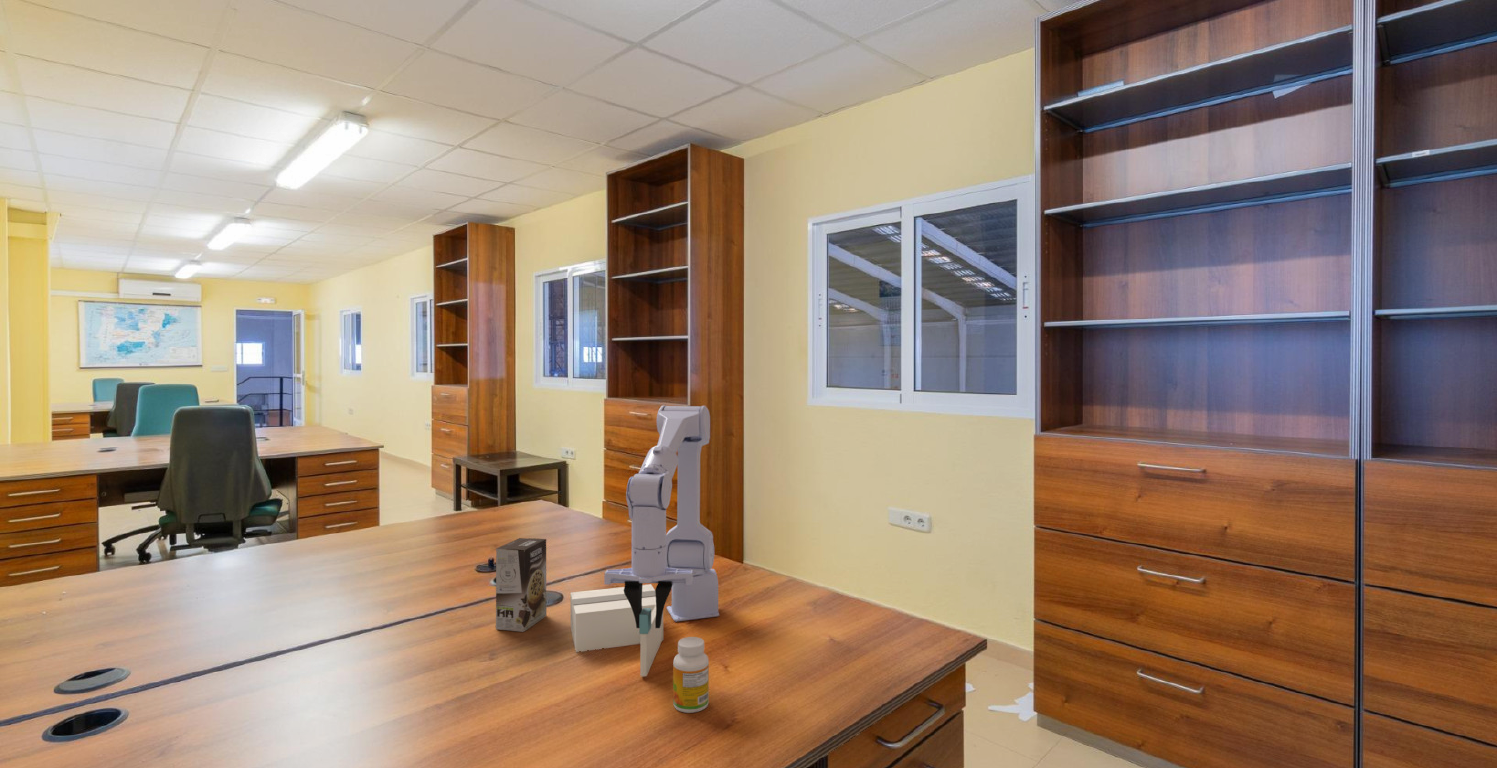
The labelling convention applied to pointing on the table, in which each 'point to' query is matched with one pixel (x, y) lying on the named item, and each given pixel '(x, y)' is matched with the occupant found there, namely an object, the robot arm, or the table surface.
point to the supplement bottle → (690, 676)
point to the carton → (606, 618)
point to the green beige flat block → (648, 639)
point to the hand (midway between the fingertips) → (648, 626)
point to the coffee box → (520, 584)
